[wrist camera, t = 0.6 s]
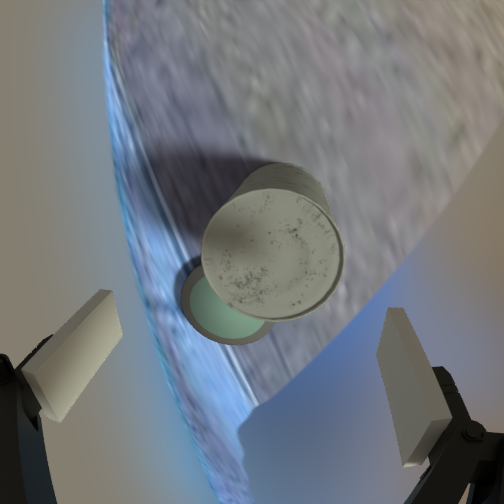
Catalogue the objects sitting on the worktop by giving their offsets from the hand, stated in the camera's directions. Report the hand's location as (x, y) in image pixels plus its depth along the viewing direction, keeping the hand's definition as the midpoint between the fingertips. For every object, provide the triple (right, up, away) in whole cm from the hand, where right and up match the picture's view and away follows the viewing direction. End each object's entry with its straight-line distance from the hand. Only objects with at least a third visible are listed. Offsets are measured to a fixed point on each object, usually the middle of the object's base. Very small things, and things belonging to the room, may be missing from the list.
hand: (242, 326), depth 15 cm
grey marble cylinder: (+3, +8, +18) cm, 20 cm away
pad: (-2, -2, +23) cm, 23 cm away
